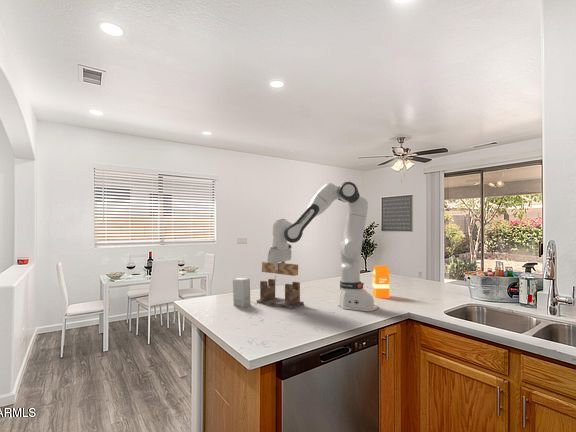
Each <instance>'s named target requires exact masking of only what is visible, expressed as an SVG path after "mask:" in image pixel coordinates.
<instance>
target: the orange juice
mask: <svg viewBox="0 0 576 432" xmlns="http://www.w3.org/2000/svg"><path fill="white" fill-rule="evenodd" d="M372 297H373V298H376V299H383V298H384V299H389V298H390V274H389V269H388V265H373V270H372Z"/></svg>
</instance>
